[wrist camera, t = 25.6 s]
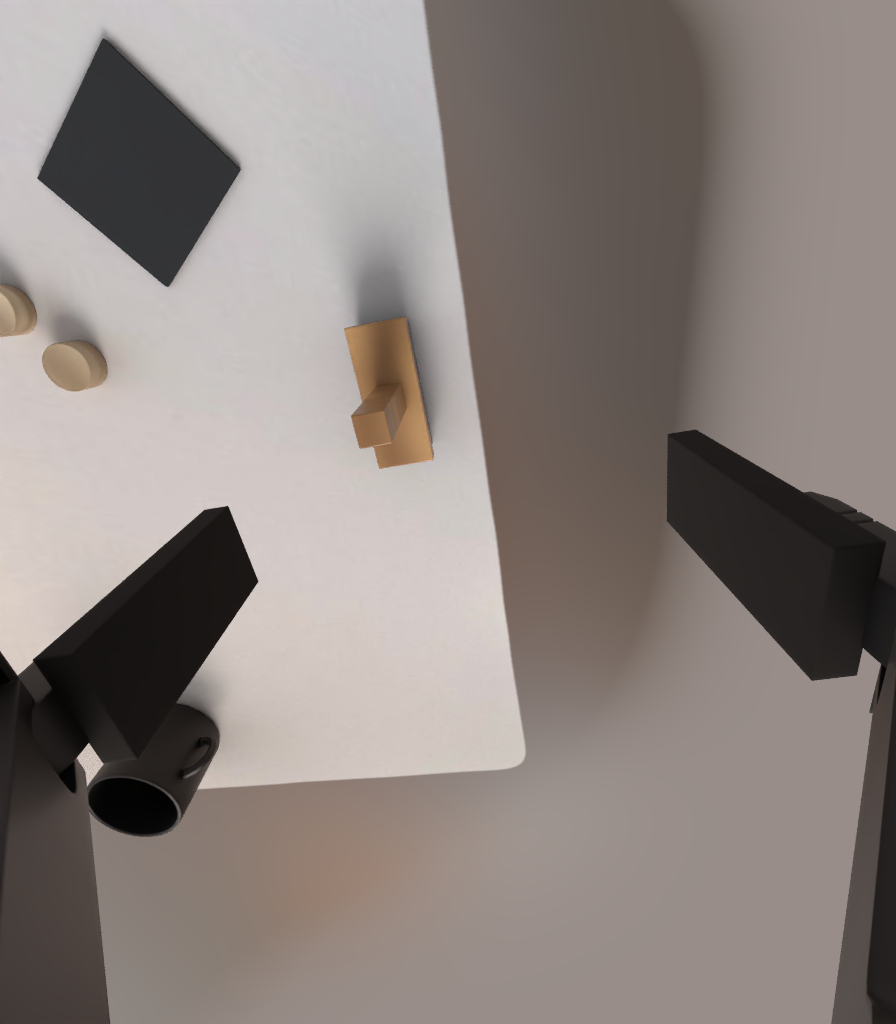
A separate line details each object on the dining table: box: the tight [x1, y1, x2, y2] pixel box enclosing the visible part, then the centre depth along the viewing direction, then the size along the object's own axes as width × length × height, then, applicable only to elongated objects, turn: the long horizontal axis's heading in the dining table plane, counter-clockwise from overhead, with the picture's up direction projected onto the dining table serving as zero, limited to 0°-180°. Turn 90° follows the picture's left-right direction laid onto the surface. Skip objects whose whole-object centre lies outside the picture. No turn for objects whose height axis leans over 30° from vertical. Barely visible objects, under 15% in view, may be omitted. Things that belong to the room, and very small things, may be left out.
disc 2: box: [42, 341, 107, 391], centre depth 38 cm, size 4×4×2 cm
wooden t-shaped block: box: [344, 316, 434, 469], centre depth 34 cm, size 4×11×13 cm, turn 10°
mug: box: [87, 704, 219, 837], centre depth 52 cm, size 9×12×9 cm
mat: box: [38, 38, 241, 287], centre depth 33 cm, size 10×10×1 cm
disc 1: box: [0, 284, 37, 337], centre depth 36 cm, size 4×4×2 cm
